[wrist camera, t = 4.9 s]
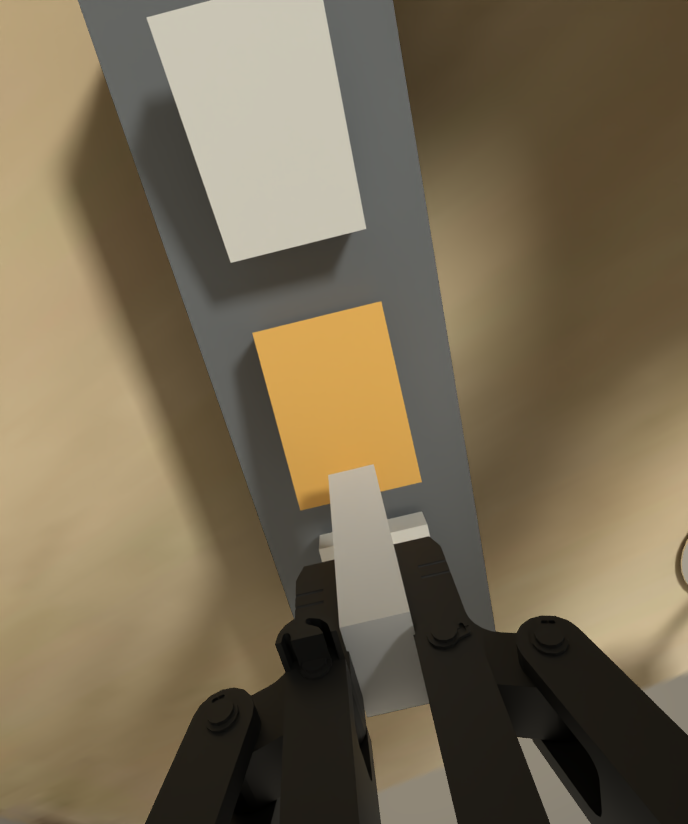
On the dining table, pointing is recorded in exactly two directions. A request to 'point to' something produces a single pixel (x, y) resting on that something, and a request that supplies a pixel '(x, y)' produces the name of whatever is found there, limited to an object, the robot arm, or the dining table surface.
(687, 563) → the wineglass
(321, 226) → the block
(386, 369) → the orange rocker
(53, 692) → the dining table surface
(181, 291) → the power strip
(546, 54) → the dining table surface
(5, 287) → the dining table surface
